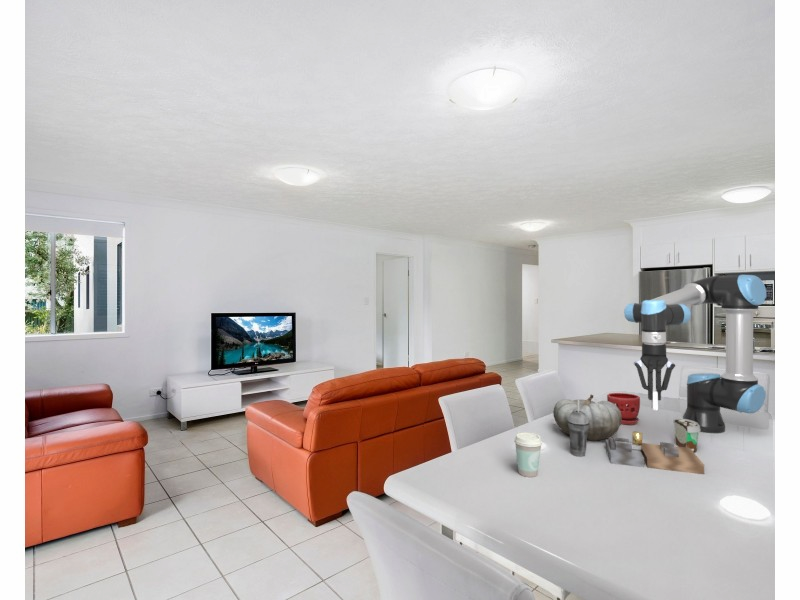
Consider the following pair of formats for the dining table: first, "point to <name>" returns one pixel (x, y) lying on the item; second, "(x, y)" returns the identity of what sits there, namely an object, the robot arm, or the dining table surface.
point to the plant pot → (629, 411)
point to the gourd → (590, 416)
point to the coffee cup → (528, 453)
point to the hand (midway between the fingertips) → (654, 409)
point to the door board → (654, 456)
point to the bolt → (635, 440)
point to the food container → (686, 433)
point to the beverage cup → (578, 432)
